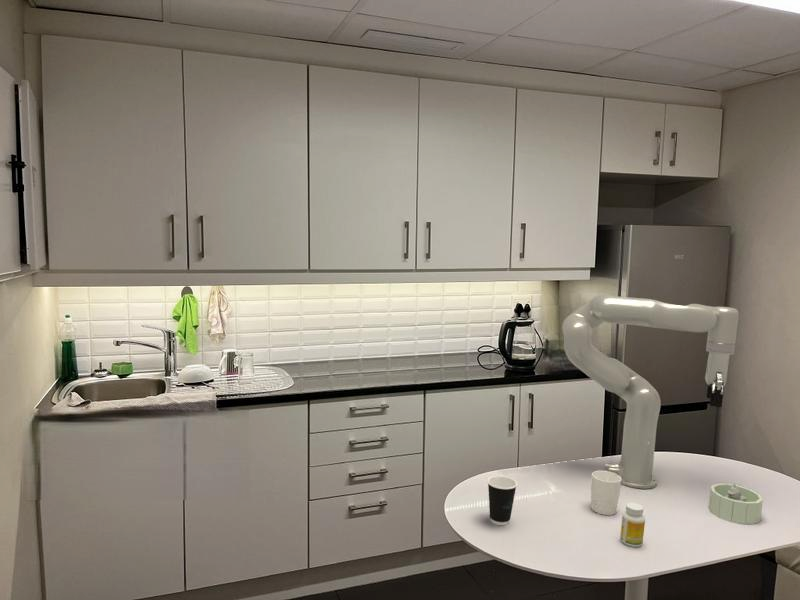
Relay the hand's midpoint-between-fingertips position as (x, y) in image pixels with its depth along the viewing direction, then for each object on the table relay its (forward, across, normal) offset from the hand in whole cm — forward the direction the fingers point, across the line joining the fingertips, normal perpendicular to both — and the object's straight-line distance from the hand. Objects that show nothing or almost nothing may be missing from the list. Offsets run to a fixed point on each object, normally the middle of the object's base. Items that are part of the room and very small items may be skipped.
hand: (713, 402), depth 183 cm
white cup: (+28, +31, -28) cm, 50 cm away
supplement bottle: (+28, +46, -20) cm, 58 cm away
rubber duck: (+27, +15, +7) cm, 31 cm away
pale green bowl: (+28, +15, +7) cm, 32 cm away
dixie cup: (+29, +51, -53) cm, 79 cm away
